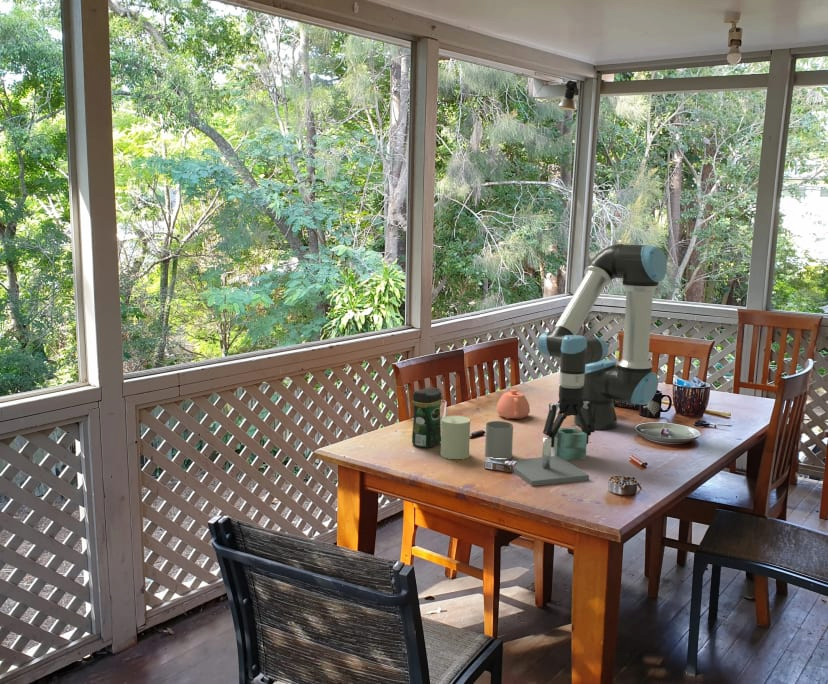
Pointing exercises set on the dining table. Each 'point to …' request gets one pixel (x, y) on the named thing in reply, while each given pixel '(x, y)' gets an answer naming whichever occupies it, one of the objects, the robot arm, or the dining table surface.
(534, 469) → the board
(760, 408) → the dining table surface
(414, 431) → the coffee jar
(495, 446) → the cup
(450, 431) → the can
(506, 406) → the sugar bowl
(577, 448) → the bead
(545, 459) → the rod
